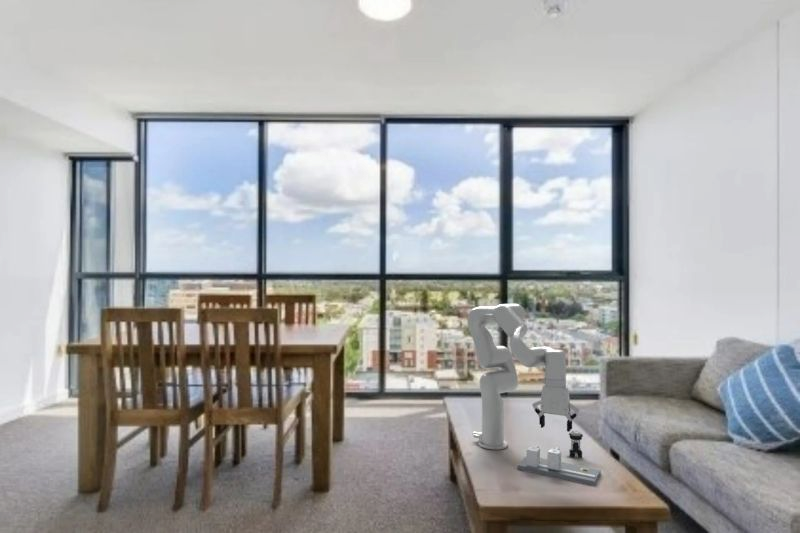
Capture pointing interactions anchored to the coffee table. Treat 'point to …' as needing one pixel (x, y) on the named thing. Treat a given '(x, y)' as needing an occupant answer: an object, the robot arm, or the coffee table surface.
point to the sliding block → (554, 458)
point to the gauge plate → (565, 472)
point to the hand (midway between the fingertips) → (555, 428)
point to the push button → (575, 444)
